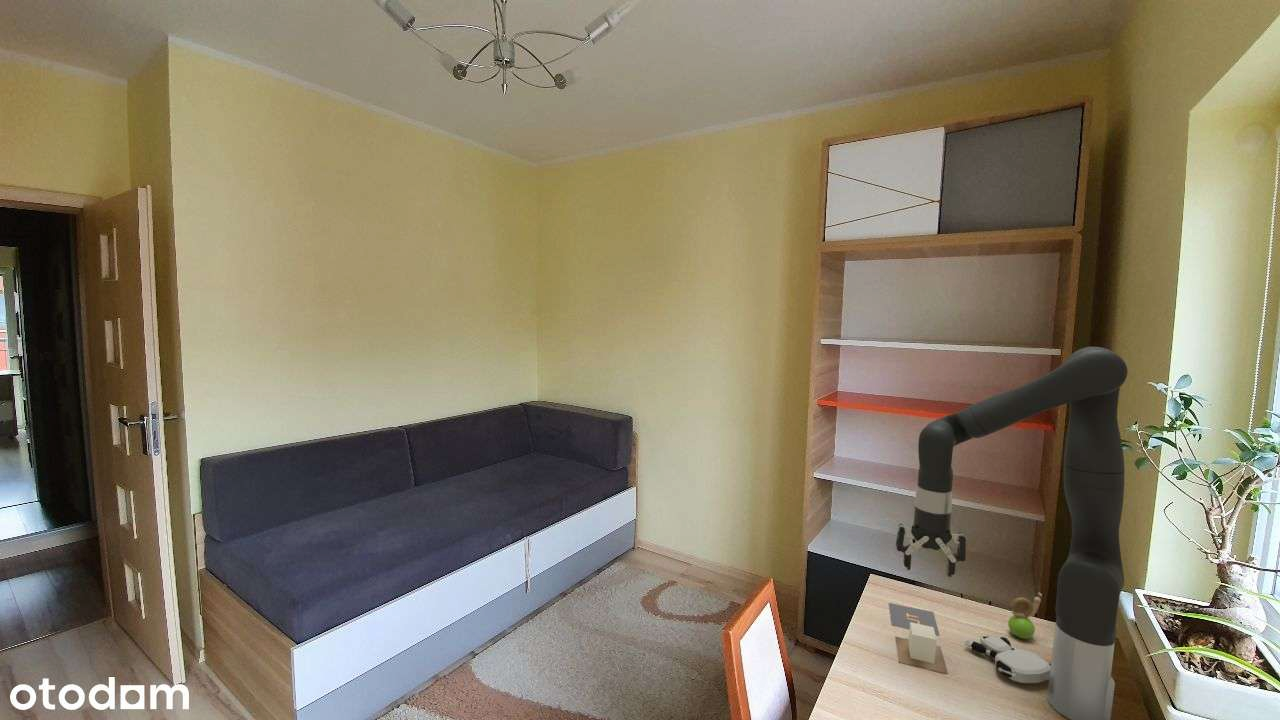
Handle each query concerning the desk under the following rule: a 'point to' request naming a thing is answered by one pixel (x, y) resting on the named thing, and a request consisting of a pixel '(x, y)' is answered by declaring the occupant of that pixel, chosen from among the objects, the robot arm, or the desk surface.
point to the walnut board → (905, 659)
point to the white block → (922, 642)
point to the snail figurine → (1023, 617)
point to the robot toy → (1013, 660)
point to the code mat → (911, 617)
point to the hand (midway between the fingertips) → (928, 571)
